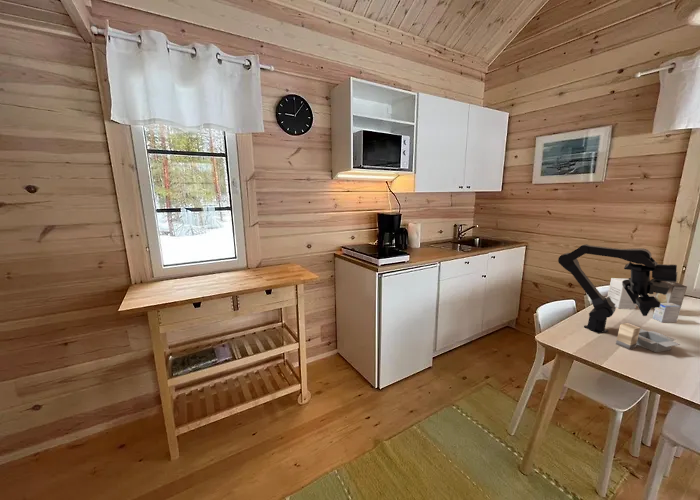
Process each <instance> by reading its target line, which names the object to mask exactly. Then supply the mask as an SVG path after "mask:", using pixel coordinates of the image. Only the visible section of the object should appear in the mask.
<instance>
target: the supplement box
mask: <svg viewBox="0 0 700 500" xmlns="http://www.w3.org/2000/svg"><path fill="white" fill-rule="evenodd" d="M624 280H629V278H622V277H621V278H620V277H618V278H615V277H611V278H610V284H609V288H608V292H607V296H606V298H607V297H610V299H611V301H612V302H613V303H614V304H615V308H616V309H624V310H625V309H626V310H627V309H629V310H636V307H637V304H634V303H633V302H632V300H631V298H630V297H629V295H628V293H627V292H626V290H625V289H624V287H623V285H622V282H623V281H624Z"/></svg>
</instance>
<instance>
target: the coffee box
mask: <svg viewBox="0 0 700 500" xmlns="http://www.w3.org/2000/svg"><path fill="white" fill-rule="evenodd" d="M661 282H663V283H665V284H667V285H668V286H669V287H670V289H669V291H668V292H667V294H666V295H663V294H660V293H655V295H654V297H655V298H657V299H658V301H659V302H660V303H673V304H676V305H679V306H681V307H682V305H683V302H684V301H683V300H684V298H685V295H686V291H687V288H688V286H687V285H684V284H682V283H678V282H668V281H661ZM653 309H655V307H654V308H653ZM681 309H682V308H680V310H681Z"/></svg>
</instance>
